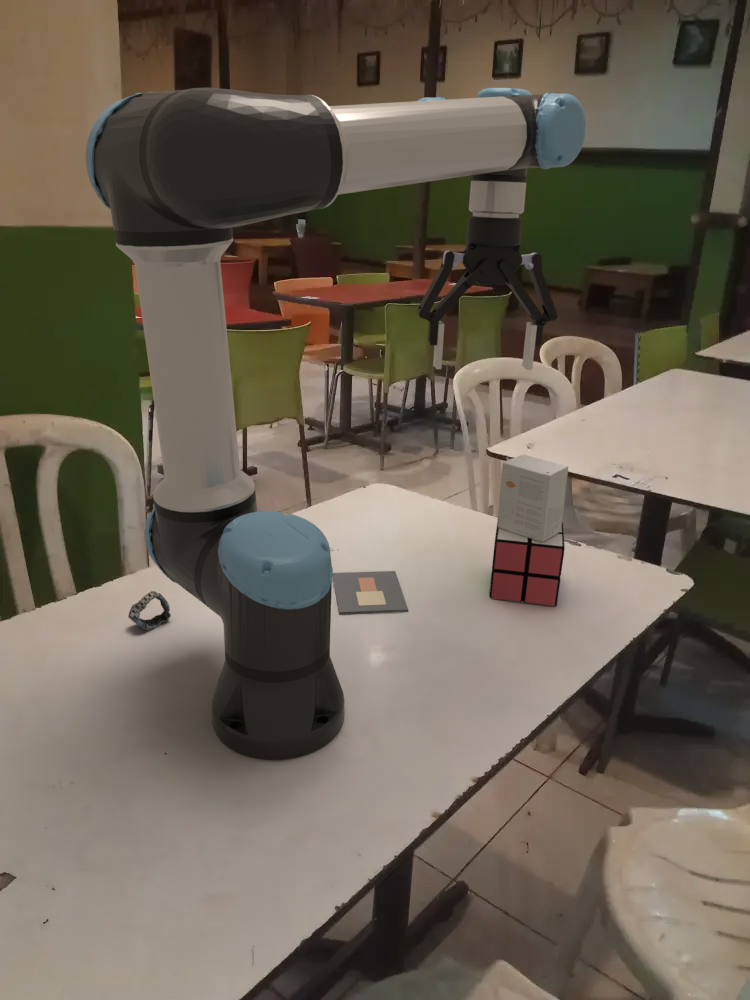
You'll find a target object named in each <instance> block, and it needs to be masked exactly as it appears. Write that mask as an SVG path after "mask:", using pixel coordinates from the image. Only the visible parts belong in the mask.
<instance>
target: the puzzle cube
mask: <svg viewBox="0 0 750 1000" xmlns="http://www.w3.org/2000/svg"><path fill="white" fill-rule="evenodd" d="M496 522H497V523H496V525H497V524H498V520H497V521H496ZM564 530H565V529H564V522H563V521H562V527H561V531H560V532H559V533H557V534H555V535H554V536H552V537H550V538H549V539H547V540H545V541H544V542H540V541H536V540H534V539H531V538H528V537H525V536H522V535H519V534H516V533H513V532H510V531H507V530H504V529H501V528H498V527H497V526H496V530H495V537H494V545H493V557H492V566H491V574H490V575H491V576H490V585H489V586H490V587H489V593H488V597H489V599H491V600H497V601H504V602H505V601H506V602H514V603H522V602H523V603H524V604H528V605H537V606H547V607H553V606H554V608H555V607H557V606H558V599H559V593H560V592H559V591H560V587H561V586H560V584H561V576H562V569H563V564H564V563H563V562H564V557H565V547H566V546H565V534H564V533H565V532H564Z"/></svg>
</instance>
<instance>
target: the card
mask: <svg viewBox="0 0 750 1000" xmlns="http://www.w3.org/2000/svg"><path fill="white" fill-rule="evenodd" d="M332 582H333V588H334V592H335V598H336V603H337V608H338V615H361V614H363V615H364V614H384V613H385V614H388V613H409V607H408V605H407V602H406V598H405V595H404V592H403V590H402V587H401V584H400V581H399V577H398V575H397V572H396V570H384V571H383V570H382V571H380V570H379V571H355V572H354V571H350V572H349V571H347V572H346V571H345V572H333V577H332Z"/></svg>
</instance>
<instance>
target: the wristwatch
mask: <svg viewBox="0 0 750 1000" xmlns="http://www.w3.org/2000/svg"><path fill="white" fill-rule="evenodd" d="M154 599H155V600H156V599H157V600H158V601H160V606H161V607H162V609H163V611H162V612H161V613H160V614H157V615H154V617H152V618H150V619H149V618H148V619H142V618H140V615H141V612H142V611H143V610H145V609H146V608H147V605H148V604H149V603H150V602H151V601H152V600H154ZM170 611H171V607H170V605H169V603H168V600H167V599H166V598H165V597H164V596H163V595H162V594H161V593H160V592H159V593H158V592H156V591H155V590H150V592H148V593H146V594H145V595H144V596H142V597H141V599H140V600H139V601H138V602H136V603H134V604H132V606H131V607H130V610H129V612H128V619H130V620H131V621H132V622H133V623H134V624H136V625H137V626H139V627H140V628H142V629H144V630H145V631H146V632H147V631H150V630H152V629H156V628H157V627H160V626H161V624H162V623H165V622H167V621H169V619H170V617H172V614H171V612H170Z"/></svg>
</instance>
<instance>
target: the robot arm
mask: <svg viewBox="0 0 750 1000" xmlns="http://www.w3.org/2000/svg"><path fill="white" fill-rule="evenodd" d="M586 123H587V122H586V114H585V110H584V107H583V105H582V104H581V102H580V101H579V99H578V98H577V97H575V95H573V94H570V93H555V92H552V91H551V92H545V93H540V94H539V93H537V94H532V92H530V91H529V90H527V89H523V88H511V87H488V88H487V87H486V88H483V89H481V90H480V91H478V93H477V96H476V97H471V98H470V97H469V98H468V97H467V98H455V99H454V98H453V99H452V98H451V99H450V98H445V97H443V96H438V97H437V96H436V97H422V98H419V99H418V100H414V101H398V102H397V101H396V102H384V103H383V102H382V103H378V102H377V103H362V104H361V103H360V104H345V105H328V104H327V102H325V101H324V100H323V99H322V98H320V97H318V96H316V95H313V94H298V95H297V94H296V95H295V94H275V93H272V94H271V93H261V92H260V93H259V92H253V91H252V92H251V91H244V90H235V89H227V88H217V87H193V88H187V89H182V90H179V89H178V90H165V91H152V90H151V91H147V92H137V93H135V94H132V95H131V96H127V97H125V98H123V99H118V101H115V102H113V103H112V104H111V105H109V106H108V107H107V108H106V109H104V110H103V111H102V112H101V114H100V115H99V116H98V118H97V120H95V122H94V123H93V125H92V127H91V129H90V130H89V133H88V137H87V141H86V145H85V146H86V147H85V166H86V168H85V169H86V173H87V175H88V180H89V183H90V185H91V187H92V188H93V191H94V193H95V194H96V196H97V197H98V198H99V200H100V201H101V202H102V203H103V205H104V206H105V207H106V208H107V209H109V210H110V216H111V222H112V228H113V229H112V230H113V234H114V241H115V246H116V247H117V248H118V249H119V250H120V251H121V252H123V254H125V255H126V256H127V257H128V258H129V259H131V261H132V262H133V264H134V270H135V275H136V283H137V291H138V299H139V306H140V312H141V319H142V320H141V321H142V326H143V333H144V334H143V335H144V341H145V347H146V348H145V349H146V354H147V361H148V362H147V363H148V368H149V369H148V370H149V376H150V377H149V378H150V381H151V383H150V384H151V391H152V396H153V397H152V398H153V405H154V411H155V418H156V424H157V425H156V427H157V434H158V439H159V448H160V454H161V461H162V469H163V476H164V477H163V479H161V481H160V482H159V483H158V484H157V485H156V486H155V488H154V490H153V508H152V509H151V512H148V513H147V517H146V520H145V522H144V523H145V524H144V542H145V543H144V544H145V546H146V550H147V552H148V554H149V556H150V558H151V560H152V562H154V564H155V565H156V567H157V568H158V569H159V570H160V571H161V572H162V574H163V575H165V576H166V577H167V578H168V579H169V580H170V581H171V582H173V583H176V584H178V585H179V586H180V587H181V588H182V589H183V590H185V591H186V592H187V593H189V594H190V595H192V596H193V597H194V598H195V599H196V600H197V601H199V602H201V603H202V604H204V606H205V607H207V608H209V609H210V610H211V611H212V612H214V613H215V614H216V615H217V616H219V618H221V621H222V623H223V640H224V644H223V645H224V656H225V657H224V662H223V667H222V669H221V672H220V674H219V678H218V681H217V684H216V688H215V690H214V693H213V696H212V700H211V720H212V727H213V731H214V733H215V734H216V736H217V738H218V739H219V740H220V741H221V742H222V743H223V744H224V745H225V746H226V747H228V748H229V749H232V750H233V751H235V752H238V753H239V754H242V755H245V756H248V757H252V758H256V759H257V758H258V759H263V760H264V759H267V760H282V759H290V758H295V757H299V756H303V755H306V754H309V753H312V752H314V751H316V750H318V749H320V748H322V747H323V746H325V745H326V744H328V743H329V742H330V741H332V740H333V738H335V736H337V735H338V733H339V731H340V730H341V728H342V726H343V723H344V721H345V696H344V695H345V694H344V691H343V688H342V685H341V682H340V680H339V678H338V675H337V672H336V669H335V667H334V664H333V661H332V658H331V621H332V618H331V617H332V593H333V592H332V590H333V589H332V588H333V587H332V586H333V573H334V569H333V566H332V565H333V564H332V559H331V558H332V555H331V547H330V543H329V541H328V539H327V537H326V535H325V534H324V532H323V531H322V530H321V529H320V528H319V527H318V526H317V525H315V524H314V523H313V522H311V521H309V520H307V519H305V518H303V517H301V516H298V515H296V514H292V513H288V514H282V513H281V511H274V510H273V511H271V510H270V511H269V510H267V511H266V510H265V511H263V510H262V511H258V506H257V496H256V495H257V494H256V484H255V481H254V479H253V478H252V477H251V476H250V475H248V474H247V473H245V472H244V471H243V470H241V465H240V455H239V443H238V433H237V424H236V414H235V413H236V412H235V402H234V393H233V392H234V391H233V381H232V372H231V362H230V350H229V341H228V332H227V331H228V328H227V319H226V308H225V298H224V288H223V276H222V266H221V258H222V256H223V254H224V253H225V252H226V251H227V249H228V248H229V246H231V244H232V243H233V242H234V235H233V233H234V232H233V228H236V227H241V226H245V225H246V226H247V225H250V224H255V223H259V222H263V221H267V220H272V219H276V218H280V217H285V216H289V215H294V214H300V213H304V212H305V213H306V212H309V211H315V210H316V211H317V210H321V209H325V208H328V207H329V206H330V205H331V204H333V202H335V200H336V199H337V197H338V196H339V195H344V194H351V193H359V192H366V191H373V190H378V189H379V190H380V189H386V188H395V187H399V186H400V187H401V186H408V185H415V184H419V183H421V184H422V183H428V182H434V181H441V180H447V179H449V180H450V179H453V178H462V177H468V176H470V180H471V181H470V190H469V201H468V202H469V203H468V211H469V212H471V213H472V215H471V216H469V218H467V228H466V229H467V230H466V240H465V241H466V243H465V249H464V251H463V253H462V252H461V253H460V252H454V251H451V250H449V249H445V250H444V251H443V252H442V257H441V263H440V266H439V268H438V270H437V271H436V272H437V273H436V274H435V276H434V278H433V280H432V281H431V284H430V285H429V287H428V288H427V290H426V292H425V294H424V296H423V298H422V300H421V301H420V304H419V306H418V307H417V309H416V314H417V316H418V317H419V318H421V319H422V320H426V321H427V322H428V328H427V329H428V330H427V331H428V332H427V341H428V344H429V345H430V346H434V347H433V358H432V359H433V362H432V363H433V365H432V366H433V367H434V368H435V370H442V365H443V351H444V335H445V323H444V322H443V321H442V319H443V318H444V316H446V314H447V313H448V312H449V311H450V309H452V307H454V305H455V304H457V302H458V301H459V300H460V299H461V298H462V296H463V295H464V294H465V293H466V292H467V291H468V290H469V289H471V287H473V285H475V283H476V284H478V285H479V286H489V285H493V286H497V287H498V286H499V287H502V286H503V285H505V284H506V285H507V286H508V288H509V289H510V290H511V292H512V293H513V294H514V296H515V297H516V299H517V300H518V301H519V302H520V304H521V307H523V309H524V310H525V312H526V314H528V316H529V317H530V319H531V320H532V322H531V321H530V322H529V321H528V322H526V326H525V327H526V328H525V337H524V345H523V355H522V364H521V366H522V367H523V368H524V369H525V370H527V371H533V366H534V356H535V350H536V347H540V346H541V345H542V341H543V332H544V326H545V325H546V324H547V323H548V322H553V321H556V320H557V319H558V313H557V309H556V307H555V304H554V301H553V297H552V295H551V292H550V290H549V287H548V284H547V281H546V279H545V276H544V273H543V270H542V268H543V267H542V266H543V262H542V261H543V257H542V255H541V254H540V253H537V252H530V253H528V254H521V244H522V243H521V241H522V231H523V224H524V223H523V220H522V218H520V215H522V214H523V213H524V212H525V202H526V191H527V178H528V177H527V173H528V169H532V168H533V169H534V168H535V169H537V168H538V169H539V168H540V169H542V170H548V169H550V168H563V167H566V166H569V165H570V164H572V163H573V162H574V161H575V160H576V158H577V157H578V155H579V154H580V153H581V150H582V148H583V145H584V142H585V138H586ZM459 263H462V264H463V266H464V268H465V269H466V270H465V272H464V273H463V274H462V275H461V276H460V278H459V280H458V281H457V282H456V284H454V286H453V287H452V288H451V289H450V290H449V291H448V292H447V294H446V295H445V296H444V297H443V298H442V299H441V300H440V301H439V302H438V303H437V305H435V307H434V308H433V306H434V304H435V302H436V300H437V298H438V297H439V295H440V293H441V292H442V291H443V287H444V286H445V284H446V283H447V280H448V279H449V277H450V275H451V273H452V269H455V268H457V267H458V264H459ZM522 264H523V266H524V268H525V269H526V270H528V272H529V276H530V279H531V282H532V284H533V286H534V287H533V288H534V289H535V290H534V291H535V292H536V296H537V298H538V301H539V303H540V306H541V309H542V312H541V311H540V310H539V308H538V307H537V305H536V304H535V302H534V301H533V299H532V298H531V296H530V295H529V294H528V292H527V291H526V289H525V287H523V284H522V283H521V281H520V279H519V278H518V277H517V275H516V272H517V270H518V269H519V267H521V265H522ZM432 308H433V309H432Z"/></svg>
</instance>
